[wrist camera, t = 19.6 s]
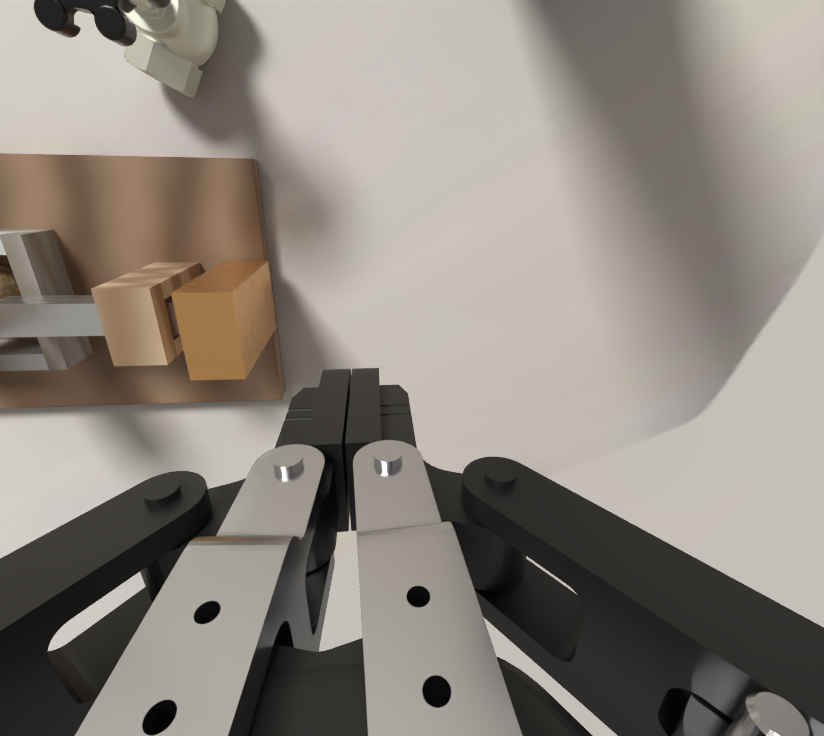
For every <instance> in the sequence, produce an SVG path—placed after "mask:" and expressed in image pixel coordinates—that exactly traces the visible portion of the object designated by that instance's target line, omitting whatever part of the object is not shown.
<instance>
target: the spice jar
mask: <svg viewBox="0 0 824 736" xmlns="http://www.w3.org/2000/svg"><path fill="white" fill-rule="evenodd" d="M8 296H22V295H21V293H20V290H19V287H18V285H17V282H16V279H15V277H14V274H13V271H12V269H11V268H10V267H7V266H4V265H0V299H2V298H5V297H8Z"/></svg>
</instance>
